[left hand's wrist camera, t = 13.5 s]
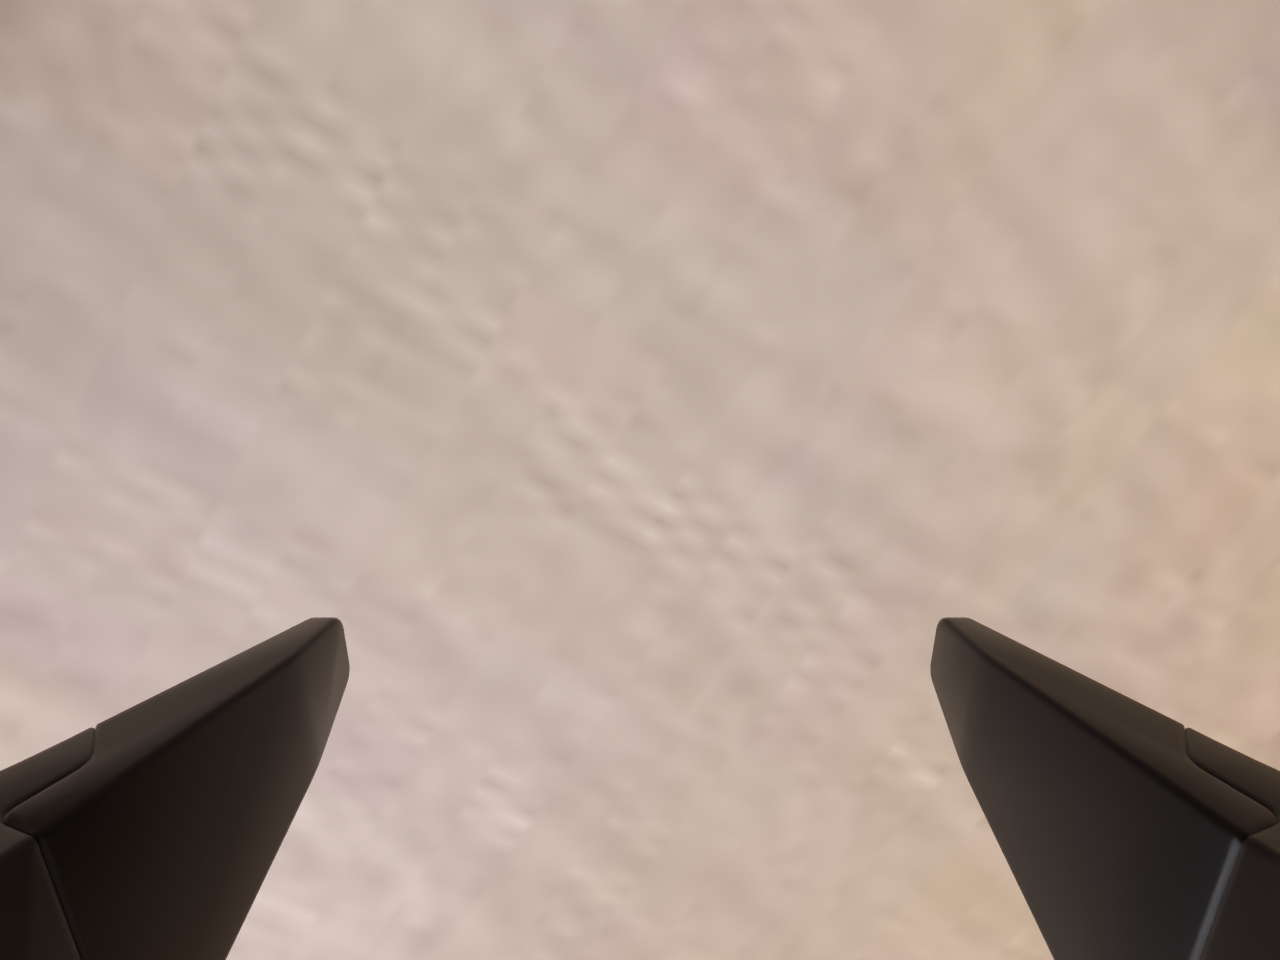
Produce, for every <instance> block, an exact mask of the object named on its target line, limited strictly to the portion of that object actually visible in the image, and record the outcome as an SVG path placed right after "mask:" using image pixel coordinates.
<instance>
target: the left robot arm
mask: <svg viewBox="0 0 1280 960" xmlns="http://www.w3.org/2000/svg"><path fill="white" fill-rule="evenodd" d="M348 678H349V660H348V653H347V647H346V641H345V635H344V629H343V625H342V623H341V621H340V620H339V619H337V618H310V619H308V620H306V621H304V622H302V623H300V624H298V625H296V626H294V627H292V628H290V629H288V630H286V631H284V632H282V633H280V634H278V635H276V636H274V637H272V638H270V639H268V640H266V641H264V642H262V643H260V644H258V645H256V646H254V647H252V648H250V649H248V650H246V651H244V652H242V653H240V654H238V655H236V656H234V657H232V658H230V659H228V660H226V661H224V662H222V663H220V664H218V665H216V666H214V667H212V668H210V669H208V670H206V671H204V672H202V673H200V674H198V675H196V676H194V677H192V678H190V679H188V680H186V681H184V682H182V683H180V684H178V685H176V686H174V687H172V688H170V689H167V690H165V691H163V692H161V693H159V694H157V695H155V696H153V697H151V698H149V699H147V700H145V701H143V702H141V703H139V704H137V705H135V706H133V707H131V708H129V709H127V710H125V711H123V712H121V713H119V714H117V715H115V716H113V717H111V718H109V719H107V720H105V721H103V722H101V723H99V724H97V725H96V728H95V729H94V728H89V729H87V730H85V731H83V732H81V733H79V734H77V735H75V736H73V737H71V738H69V739H67V740H65V741H63V742H61V743H59V744H57V745H55V746H52V747H50V748H48V749H46V750H44V751H42V752H40V753H38V754H36V755H34V756H32V757H30V758H28V759H25V760H23V761H21V762H19V763H17V764H15V765H12V766H10V767H8V768H6V769H4V770H1V771H0V960H226V958H227V956H228V954H229V952H230V950H231V947H232V945H233V943H234V941H235V939H236V937H237V935H238V933H239V931H240V929H241V927H242V925H243V923H244V920H245V918H246V916H247V914H248V912H249V910H250V908H251V906H252V904H253V902H254V900H255V898H256V895H257V893H258V891H259V889H260V887H261V885H262V883H263V881H264V879H265V877H266V875H267V873H268V870H269V868H270V866H271V864H272V862H273V860H274V858H275V856H276V854H277V852H278V850H279V848H280V846H281V843H282V841H283V839H284V837H285V835H286V833H287V831H288V829H289V827H290V825H291V823H292V821H293V818H294V816H295V814H296V812H297V810H298V808H299V806H300V804H301V802H302V800H303V798H304V796H305V793H306V791H307V789H308V787H309V785H310V783H311V781H312V779H313V776H314V774H315V772H316V770H317V768H318V765H319V762H320V760H321V757H322V754H323V752H324V749H325V746H326V743H327V740H328V737H329V734H330V731H331V728H332V725H333V722H334V720H335V717H336V714H337V711H338V708H339V705H340V702H341V699H342V696H343V693H344V690H345V688H346V685H347V682H348ZM931 678H932V682H933V685H934V688H935V690H936V693H937V696H938V699H939V702H940V705H941V708H942V711H943V714H944V717H945V720H946V722H947V725H948V728H949V731H950V734H951V737H952V740H953V743H954V746H955V749H956V752H957V754H958V757H959V760H960V762H961V765H962V768H963V770H964V772H965V774H966V776H967V779H968V781H969V783H970V785H971V787H972V789H973V791H974V793H975V796H976V798H977V800H978V802H979V804H980V806H981V808H982V810H983V812H984V814H985V816H986V818H987V821H988V823H989V825H990V827H991V829H992V831H993V833H994V835H995V837H996V839H997V841H998V843H999V846H1000V848H1001V850H1002V852H1003V854H1004V856H1005V858H1006V860H1007V862H1008V864H1009V866H1010V868H1011V870H1012V873H1013V875H1014V877H1015V879H1016V881H1017V883H1018V885H1019V887H1020V889H1021V891H1022V893H1023V895H1024V898H1025V900H1026V902H1027V904H1028V906H1029V908H1030V910H1031V912H1032V914H1033V916H1034V918H1035V920H1036V923H1037V925H1038V927H1039V929H1040V931H1041V933H1042V935H1043V937H1044V939H1045V941H1046V943H1047V945H1048V948H1049V950H1050V952H1051V954H1052V956H1053V958H1054V960H1280V771H1279V770H1276V769H1274V768H1272V767H1270V766H1268V765H1265V764H1263V763H1261V762H1259V761H1257V760H1255V759H1252V758H1250V757H1248V756H1246V755H1244V754H1242V753H1240V752H1238V751H1236V750H1234V749H1232V748H1230V747H1228V746H1225V745H1223V744H1221V743H1219V742H1217V741H1215V740H1213V739H1211V738H1209V737H1207V736H1205V735H1203V734H1201V733H1199V732H1197V731H1195V730H1193V729H1191V728H1186V729H1185V728H1184V725H1183V724H1181V723H1179V722H1177V721H1175V720H1173V719H1171V718H1169V717H1167V716H1165V715H1163V714H1161V713H1159V712H1157V711H1155V710H1153V709H1151V708H1149V707H1147V706H1145V705H1143V704H1141V703H1139V702H1137V701H1135V700H1133V699H1131V698H1129V697H1127V696H1125V695H1123V694H1121V693H1119V692H1117V691H1115V690H1113V689H1110V688H1108V687H1106V686H1104V685H1102V684H1100V683H1098V682H1096V681H1094V680H1092V679H1090V678H1088V677H1086V676H1084V675H1082V674H1080V673H1078V672H1076V671H1074V670H1072V669H1070V668H1068V667H1066V666H1064V665H1062V664H1060V663H1058V662H1056V661H1054V660H1052V659H1050V658H1048V657H1046V656H1044V655H1042V654H1040V653H1038V652H1036V651H1034V650H1032V649H1030V648H1028V647H1026V646H1024V645H1022V644H1020V643H1018V642H1016V641H1014V640H1012V639H1010V638H1008V637H1006V636H1004V635H1002V634H1000V633H998V632H996V631H994V630H992V629H990V628H988V627H986V626H984V625H982V624H980V623H978V622H976V621H974V620H972V619H970V618H943V619H941V620H940V621H939V623H938V625H937V629H936V635H935V641H934V647H933V653H932V660H931Z"/></svg>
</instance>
